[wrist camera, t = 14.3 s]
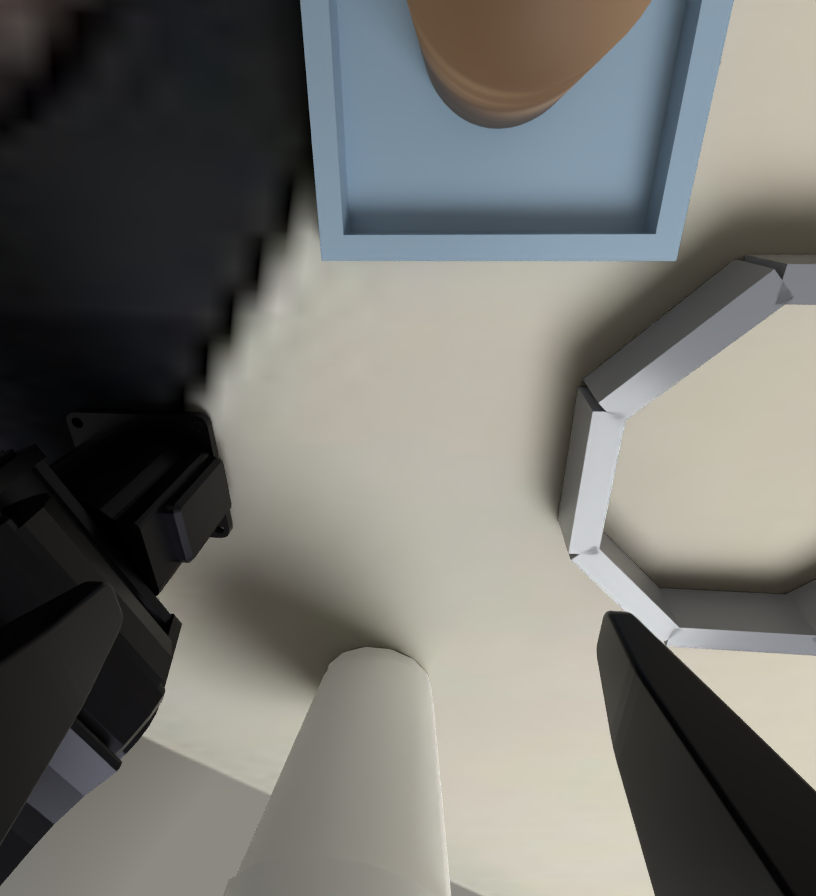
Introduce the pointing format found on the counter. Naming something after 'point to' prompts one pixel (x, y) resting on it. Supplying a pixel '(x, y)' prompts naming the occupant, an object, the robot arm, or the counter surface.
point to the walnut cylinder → (515, 51)
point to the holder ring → (598, 444)
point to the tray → (506, 145)
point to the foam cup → (356, 791)
